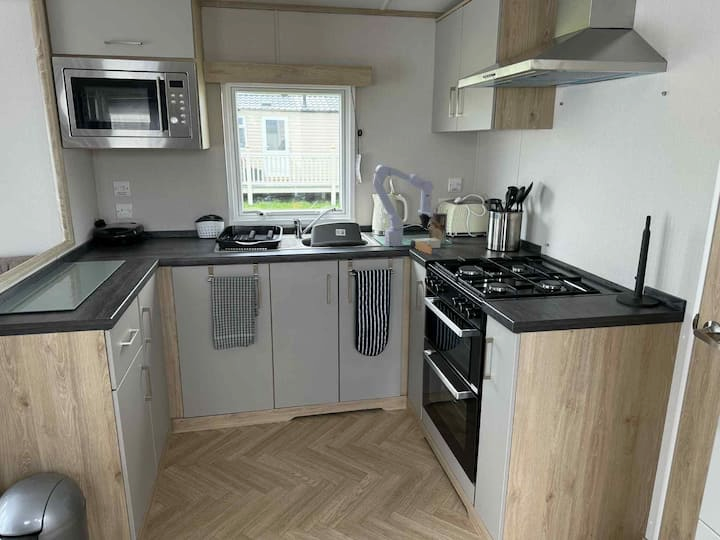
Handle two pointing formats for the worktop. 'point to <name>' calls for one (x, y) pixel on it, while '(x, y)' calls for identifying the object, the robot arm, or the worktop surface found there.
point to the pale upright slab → (434, 242)
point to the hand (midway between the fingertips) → (424, 228)
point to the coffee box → (438, 226)
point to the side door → (425, 247)
